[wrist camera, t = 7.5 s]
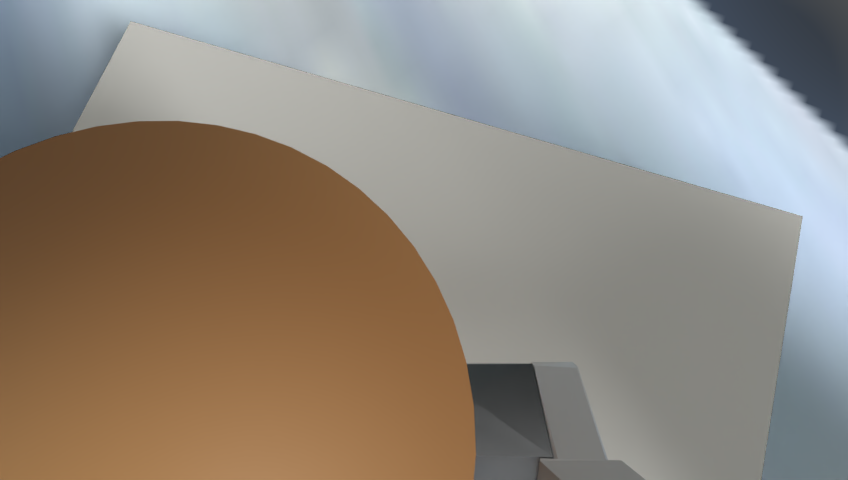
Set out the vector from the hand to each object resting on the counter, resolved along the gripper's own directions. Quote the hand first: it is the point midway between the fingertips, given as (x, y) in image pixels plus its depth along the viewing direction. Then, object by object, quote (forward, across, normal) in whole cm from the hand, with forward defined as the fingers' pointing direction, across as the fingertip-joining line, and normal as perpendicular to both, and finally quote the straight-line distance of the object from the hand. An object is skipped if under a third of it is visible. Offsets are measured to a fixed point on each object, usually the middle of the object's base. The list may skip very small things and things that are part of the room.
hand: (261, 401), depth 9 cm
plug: (+5, 0, +6) cm, 8 cm away
